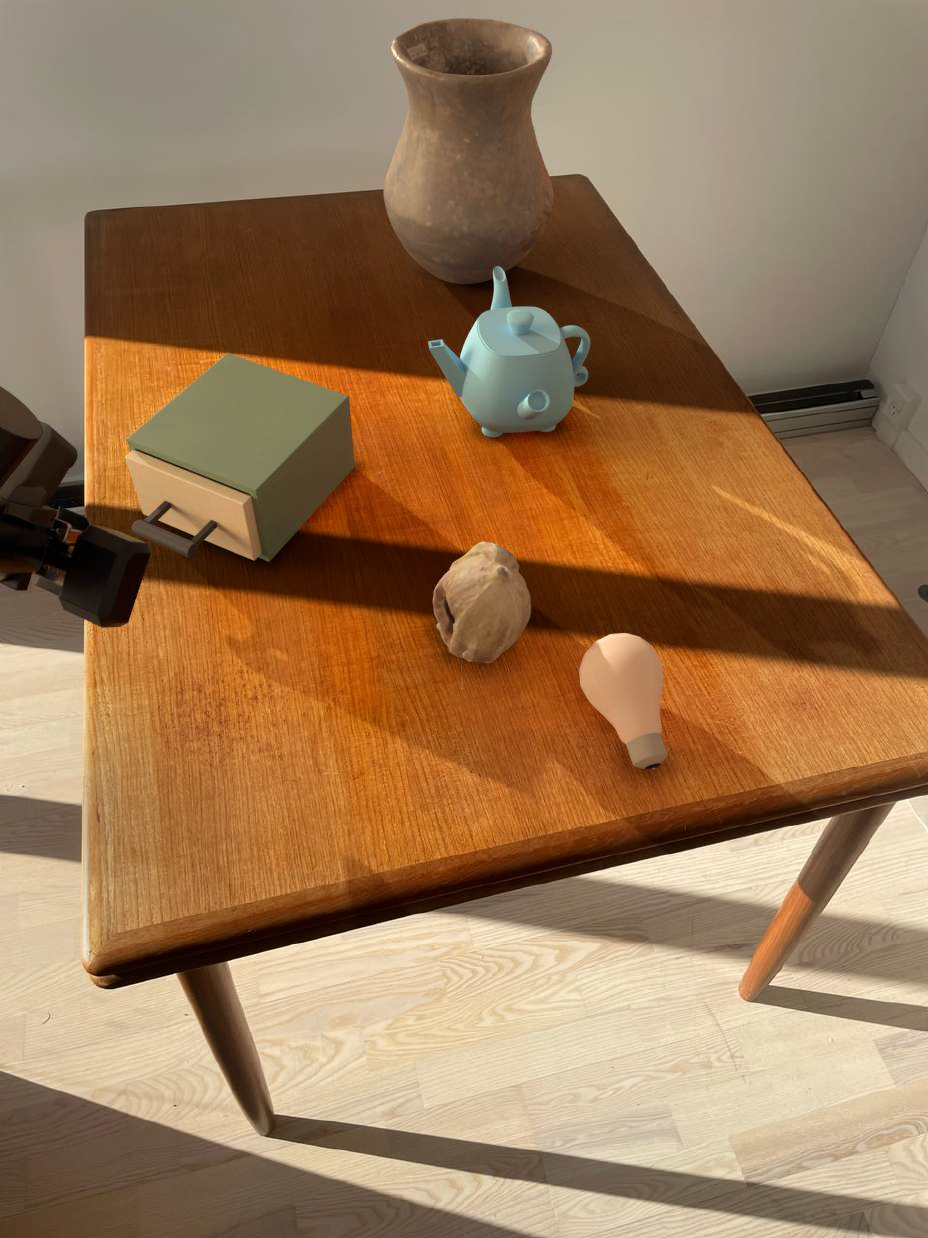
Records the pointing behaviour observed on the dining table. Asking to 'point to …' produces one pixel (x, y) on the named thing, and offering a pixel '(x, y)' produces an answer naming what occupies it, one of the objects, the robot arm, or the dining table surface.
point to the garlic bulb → (482, 604)
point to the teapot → (515, 366)
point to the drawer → (191, 509)
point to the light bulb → (627, 693)
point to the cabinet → (258, 441)
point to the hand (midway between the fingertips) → (102, 547)
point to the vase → (469, 148)
